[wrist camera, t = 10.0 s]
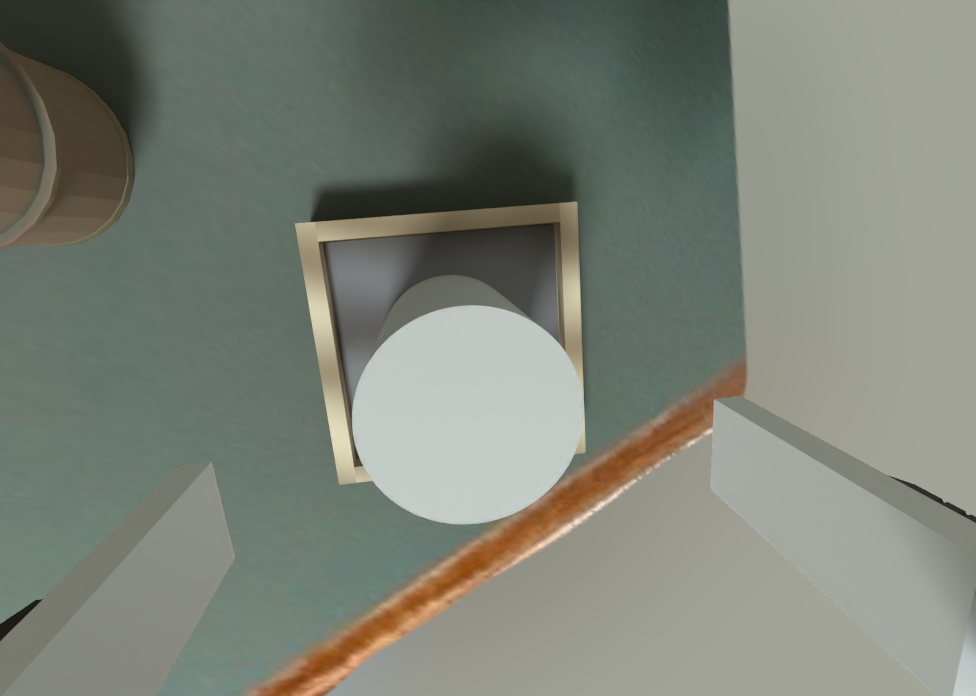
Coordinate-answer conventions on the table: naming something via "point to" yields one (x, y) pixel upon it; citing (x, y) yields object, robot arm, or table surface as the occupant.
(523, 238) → the square picture frame
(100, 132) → the binoculars
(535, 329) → the white cylinder
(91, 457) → the table surface
